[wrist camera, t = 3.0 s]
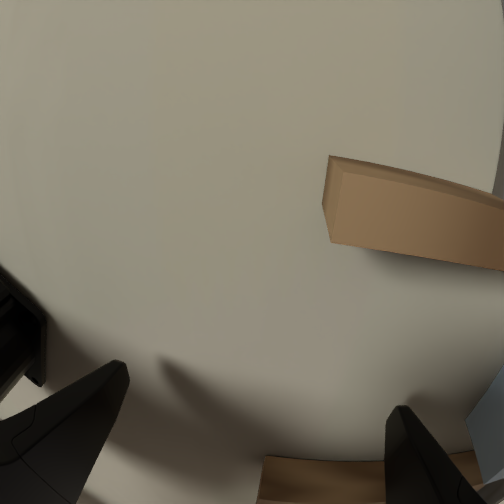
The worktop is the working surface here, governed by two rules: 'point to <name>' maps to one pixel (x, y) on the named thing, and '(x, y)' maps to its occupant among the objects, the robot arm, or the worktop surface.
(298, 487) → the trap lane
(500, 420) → the block
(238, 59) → the worktop surface
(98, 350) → the worktop surface
